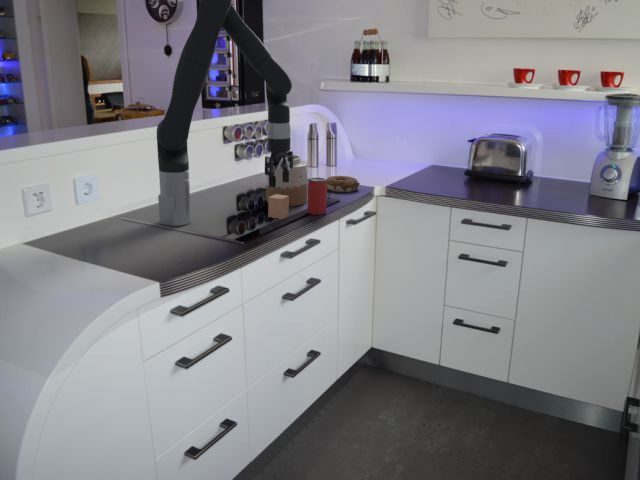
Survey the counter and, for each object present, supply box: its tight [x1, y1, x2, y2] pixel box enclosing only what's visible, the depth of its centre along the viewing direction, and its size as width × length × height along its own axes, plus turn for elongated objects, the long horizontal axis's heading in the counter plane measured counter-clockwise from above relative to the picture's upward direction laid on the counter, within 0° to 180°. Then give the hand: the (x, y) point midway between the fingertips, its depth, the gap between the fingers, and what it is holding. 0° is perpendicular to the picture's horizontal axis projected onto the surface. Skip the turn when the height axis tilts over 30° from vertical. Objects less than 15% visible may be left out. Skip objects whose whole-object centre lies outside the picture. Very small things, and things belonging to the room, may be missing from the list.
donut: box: [325, 175, 360, 193], centre depth 245 cm, size 14×14×5 cm
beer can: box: [307, 177, 328, 216], centre depth 209 cm, size 7×7×12 cm
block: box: [267, 194, 290, 220], centre depth 204 cm, size 5×5×7 cm
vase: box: [265, 154, 309, 207], centre depth 222 cm, size 15×15×17 cm
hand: (279, 184), depth 202 cm, fingers open, 8 cm apart
